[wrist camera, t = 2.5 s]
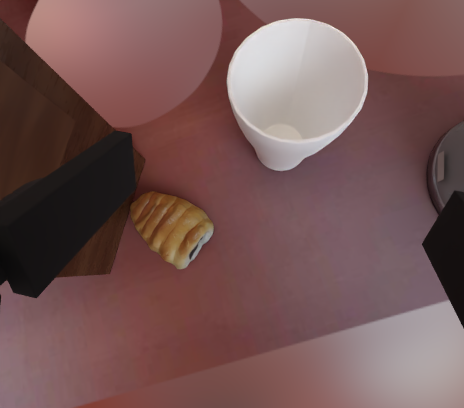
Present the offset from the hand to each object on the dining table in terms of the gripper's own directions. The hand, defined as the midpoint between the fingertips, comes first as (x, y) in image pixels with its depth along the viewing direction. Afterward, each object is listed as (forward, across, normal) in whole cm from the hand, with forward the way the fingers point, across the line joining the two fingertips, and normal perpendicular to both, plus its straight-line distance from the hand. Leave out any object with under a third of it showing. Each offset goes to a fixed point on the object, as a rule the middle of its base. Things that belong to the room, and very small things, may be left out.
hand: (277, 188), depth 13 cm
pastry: (+14, -10, -16) cm, 24 cm away
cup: (+23, 0, -8) cm, 24 cm away
